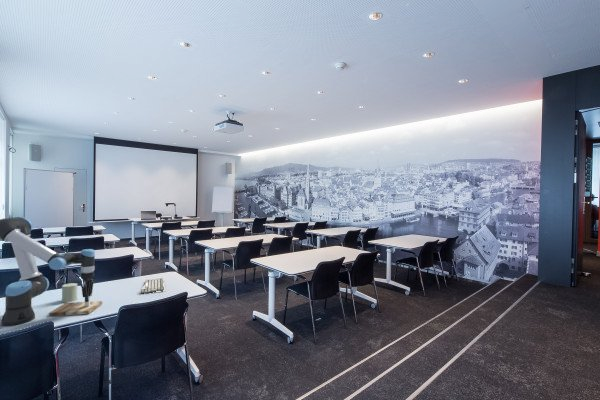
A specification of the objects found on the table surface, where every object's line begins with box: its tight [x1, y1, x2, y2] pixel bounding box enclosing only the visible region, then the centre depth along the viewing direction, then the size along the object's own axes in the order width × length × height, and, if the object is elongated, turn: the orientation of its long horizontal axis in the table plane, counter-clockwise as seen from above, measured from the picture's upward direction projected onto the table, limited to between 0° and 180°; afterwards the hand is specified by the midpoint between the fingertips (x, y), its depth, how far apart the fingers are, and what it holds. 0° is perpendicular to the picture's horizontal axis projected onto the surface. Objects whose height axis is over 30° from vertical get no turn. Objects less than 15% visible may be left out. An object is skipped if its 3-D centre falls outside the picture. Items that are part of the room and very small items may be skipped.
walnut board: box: [48, 301, 81, 317], centre depth 198 cm, size 9×18×2 cm, turn 11°
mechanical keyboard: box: [140, 277, 164, 295], centre depth 253 cm, size 38×19×3 cm, turn 27°
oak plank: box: [64, 300, 103, 316], centre depth 200 cm, size 14×18×2 cm
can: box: [61, 282, 78, 303], centre depth 217 cm, size 9×9×12 cm
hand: (87, 305), depth 201 cm, fingers closed
